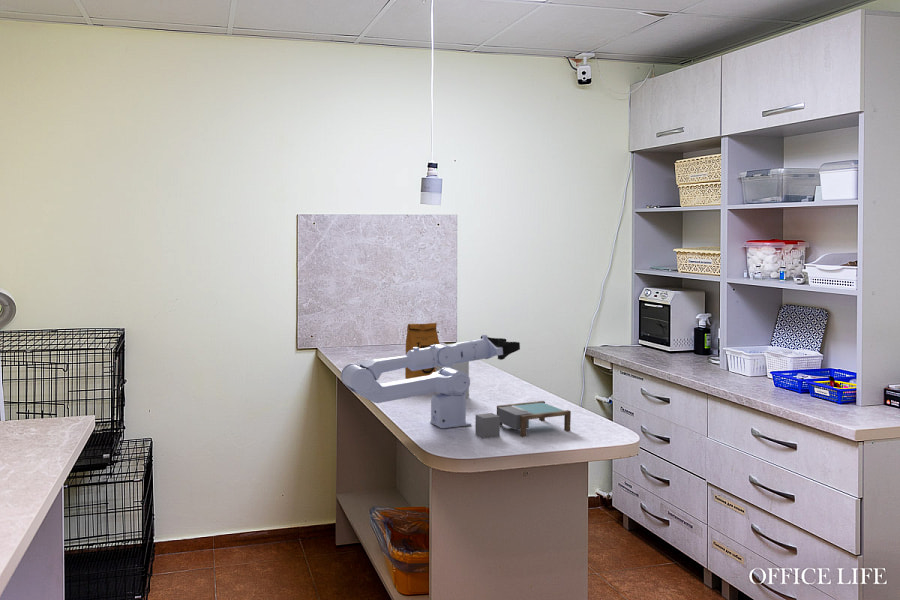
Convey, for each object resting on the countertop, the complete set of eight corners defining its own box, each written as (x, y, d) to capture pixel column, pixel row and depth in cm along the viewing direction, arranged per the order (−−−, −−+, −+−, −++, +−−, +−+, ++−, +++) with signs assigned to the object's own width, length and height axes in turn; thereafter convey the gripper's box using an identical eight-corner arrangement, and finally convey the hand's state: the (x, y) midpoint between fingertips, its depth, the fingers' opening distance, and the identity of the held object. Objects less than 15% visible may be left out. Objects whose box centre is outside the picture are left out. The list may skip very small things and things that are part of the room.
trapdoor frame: (522, 436, 211) (522, 416, 210) (496, 424, 223) (496, 405, 223) (570, 430, 217) (570, 411, 217) (542, 419, 230) (542, 400, 229)
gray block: (483, 438, 209) (483, 418, 208) (475, 434, 213) (475, 414, 212) (499, 436, 211) (499, 416, 210) (491, 432, 215) (491, 412, 214)
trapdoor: (516, 430, 211) (517, 415, 211) (496, 421, 221) (497, 407, 221) (564, 424, 218) (564, 410, 218) (542, 415, 228) (542, 402, 227)
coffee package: (444, 386, 277) (444, 324, 275) (409, 388, 273) (409, 325, 271) (436, 381, 286) (436, 320, 284) (403, 383, 283) (403, 321, 281)
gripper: (481, 340, 217) (524, 333, 223) (458, 333, 230) (499, 327, 236) (483, 365, 218) (526, 358, 224) (460, 357, 231) (500, 350, 237)
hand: (512, 344), depth 230 cm, fingers open, 7 cm apart
